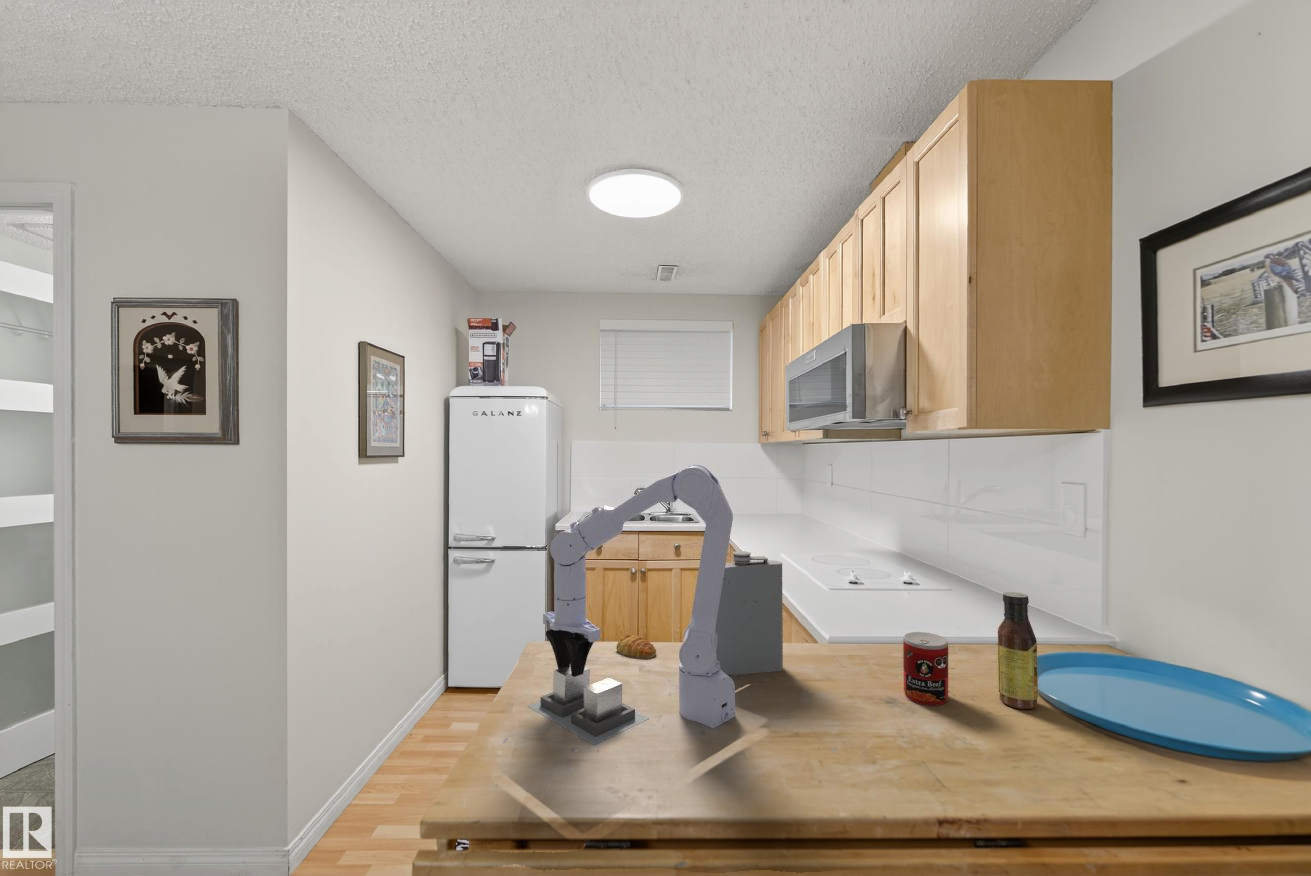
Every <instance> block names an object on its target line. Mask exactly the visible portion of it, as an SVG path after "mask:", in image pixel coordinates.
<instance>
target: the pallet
mask: <svg viewBox="0 0 1311 876" xmlns="http://www.w3.org/2000/svg"><path fill="white" fill-rule="evenodd" d="M527 708H529V709H531V710H533V711H534V712H536V713H538V714H540V715H541V716H543V717H545V718H547V719H548V720H550V721H552V722H554V723H555V724H557V725H559V726H561V727H563V728H564V729H566V730H568V731H569V732H571V733H572V734H575V735H577V736H578V737H580V738H581V739H583V740H585V741H586V742H588V743H590V744H591V745H594V746H596V745H598V744H600V743H602V742H603V741H606V740H609V739H610V738H612V737H615V736H617V735H618V734H621V733H623V732H625V731H627V730H628V729H630V728H633V727H635V726H638V725H639V724H642V723H643V722H645V721H647V720H649V719H650V717H647V716H645V715H643V714H641V713H639V712H637V711H636V708H634V707H631V706H629V705H628V704H625V703H623V702H622V712H621V713H619V714H617V715H614V716H612V717H610V718H608V719H606V720H603V721H601V722H599V723H595V722H593V721H591V720H589V719H587V718H585V717H584V698H582V699H579V700H577V701H574V702H572V703H569V704H567V705H564V706H563V705H561V704H559V703H557V702H555V701H554V700H553V691H552V692H550V693H547V694H544V695H541V696H540V700H539V701H536V702H534V703H531V704H528V705H527Z"/></svg>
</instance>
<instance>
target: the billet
mask: <svg viewBox="0 0 1311 876" xmlns="http://www.w3.org/2000/svg"><path fill="white" fill-rule="evenodd" d="M622 703H623V683H622V682H620V681H618V680H615V679H613V678H610V677H606V678H604V679H602V680H599V681H596V682H594V683H592V684H591V683H590V684H589V685H588V686H586V687H584V717H585V718H587V719H589V720H591V721H593V722H595V723H599V722H601V721H603V720H606V719H608V718H610V717H612V716H614V715H617V714H619V713H621V712H622Z"/></svg>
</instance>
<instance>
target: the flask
mask: <svg viewBox="0 0 1311 876" xmlns="http://www.w3.org/2000/svg"><path fill="white" fill-rule="evenodd" d="M751 554H752V553H751V552H750V551H745V550H744V551H742V550H736V551H733V552H732V558H733V562H732V561H731V562H726V564H725V571H724V577H723V583H722V589H721V595H720V602H719V608H718V614H717V621H716V627H715V628H716V632H717V635H718V644H717V650H716V654H717V660H718V661H719V662H720V668H721V670H722V671H723V672H724V673H725V674H726V675H727V676H730V675H731V676H733V677H735V676H740V675H741V676H742V675H743V676H744V675H748V674H756V673H757V674H758V673H773V672H774V671H775V672H781V671H782V670H784V669H783V668H784V662H783V661H784V660H783V659H784V654H783V653H784V651H783V649H784V648H783V644H784V642H783V640H784V638H783V636H784V634H783V633H784V632H783V631H784V630H783V625H784V624H783V562H782V561H779V560H769V558H768V557H766V556H765V555H764V556H762V555H761V556H760V555H758V556H757V555H756V556H755V555H751ZM772 671H773V672H772Z"/></svg>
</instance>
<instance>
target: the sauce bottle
mask: <svg viewBox="0 0 1311 876" xmlns="http://www.w3.org/2000/svg"><path fill="white" fill-rule="evenodd" d="M1002 601H1003V603H1004V604H1003V605H1004V606H1003V607H1004V609H1003V610H1004V613H1003V616H1004V618H1003V620H1002V622H1001V623H1000V624H999V626H998V628H997V645H996V646H997V649H996V650H997V681H998V682H997V683H998V684H997V685H998V686H997V687H998V688H997V689H998V693H999V699H1000V701H1001V703H1003V704H1004V705H1007V706H1008V707H1011V708H1015V709H1020V710H1032V709H1035V708H1036V707H1037V706H1038V698H1039V684H1038V683H1039V682H1038V681H1039V679H1038V678H1039V676H1038V675H1039V674H1038V642H1037V638H1036V634H1035V632H1034V629H1033V627H1032V624H1031V622H1030V619H1029V610H1028V609H1029V607H1028V606H1029V603H1030V602H1029V595H1028V594H1025V593H1021V592H1014V591H1006V592H1003V593H1002Z"/></svg>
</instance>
